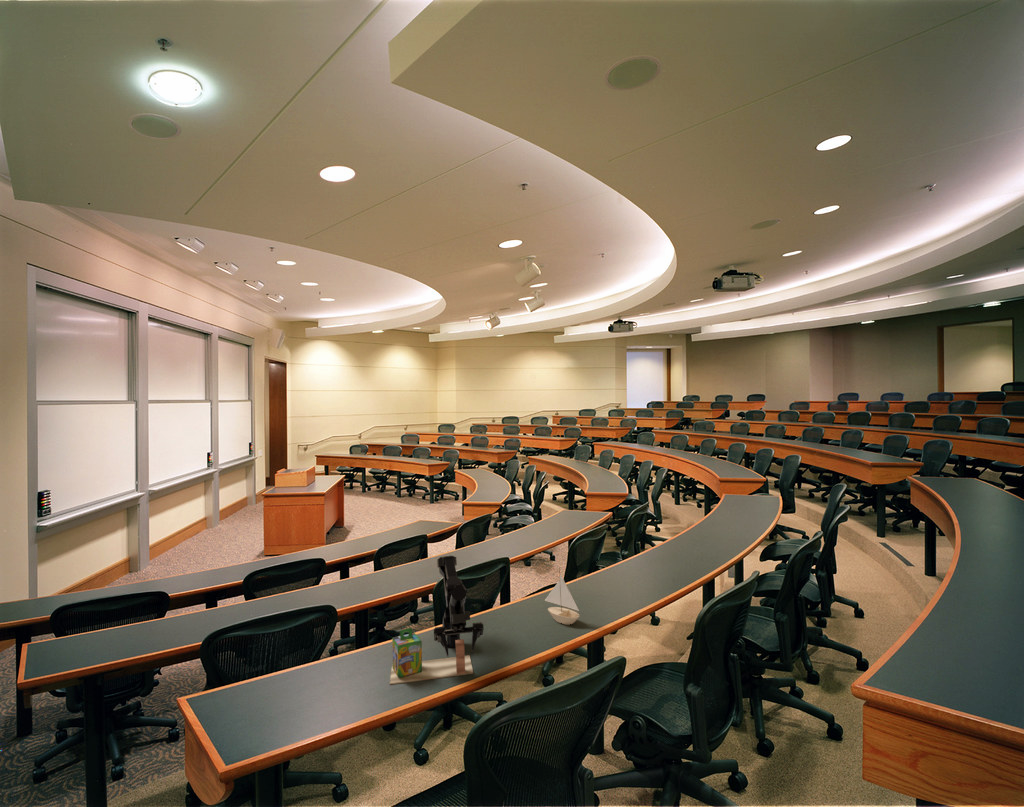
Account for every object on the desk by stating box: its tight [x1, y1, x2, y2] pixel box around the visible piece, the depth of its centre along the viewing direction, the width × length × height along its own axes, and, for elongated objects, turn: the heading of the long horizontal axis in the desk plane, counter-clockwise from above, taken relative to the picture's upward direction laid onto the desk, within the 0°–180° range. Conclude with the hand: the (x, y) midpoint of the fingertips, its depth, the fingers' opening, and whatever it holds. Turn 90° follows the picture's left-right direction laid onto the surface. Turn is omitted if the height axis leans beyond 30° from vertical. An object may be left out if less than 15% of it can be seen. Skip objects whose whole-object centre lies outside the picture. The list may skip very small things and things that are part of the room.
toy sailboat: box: [544, 566, 580, 626], centre depth 223 cm, size 21×25×9 cm
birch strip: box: [389, 638, 474, 685], centre depth 182 cm, size 14×30×12 cm, turn 101°
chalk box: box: [391, 627, 423, 678], centre depth 181 cm, size 9×9×15 cm
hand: (460, 654), depth 177 cm, fingers open, 9 cm apart
